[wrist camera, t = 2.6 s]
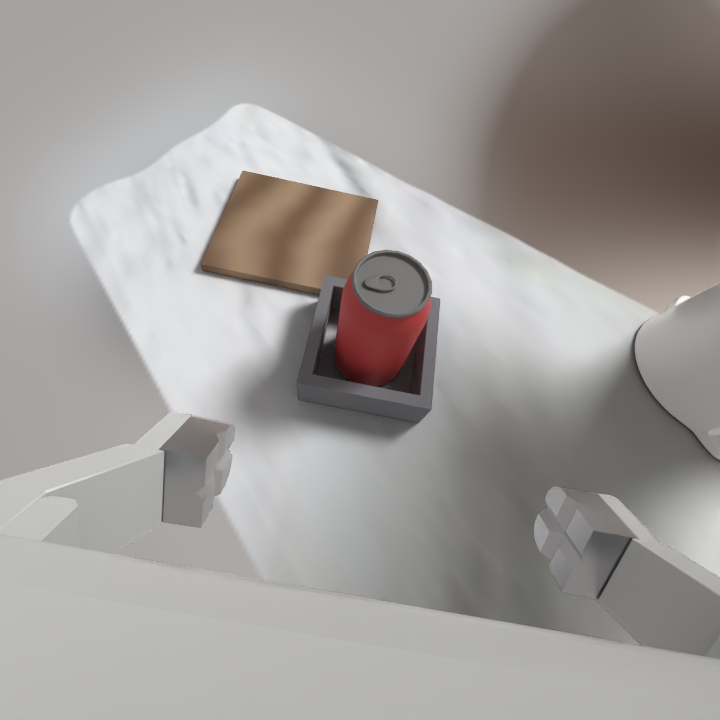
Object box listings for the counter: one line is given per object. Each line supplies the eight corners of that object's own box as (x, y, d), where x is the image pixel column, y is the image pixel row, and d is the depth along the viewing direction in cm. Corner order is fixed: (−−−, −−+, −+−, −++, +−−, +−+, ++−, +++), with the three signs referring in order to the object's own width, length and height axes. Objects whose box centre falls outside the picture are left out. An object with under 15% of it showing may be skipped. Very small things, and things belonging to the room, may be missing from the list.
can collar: (428, 321, 39) (440, 298, 35) (418, 423, 34) (431, 409, 30) (323, 299, 38) (324, 274, 35) (298, 399, 33) (296, 382, 30)
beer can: (331, 329, 37) (340, 243, 26) (396, 326, 38) (430, 243, 27) (336, 391, 34) (349, 324, 24) (406, 387, 35) (449, 321, 25)
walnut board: (376, 206, 45) (378, 200, 44) (357, 302, 39) (358, 296, 38) (244, 177, 44) (242, 170, 43) (203, 270, 38) (200, 263, 37)
